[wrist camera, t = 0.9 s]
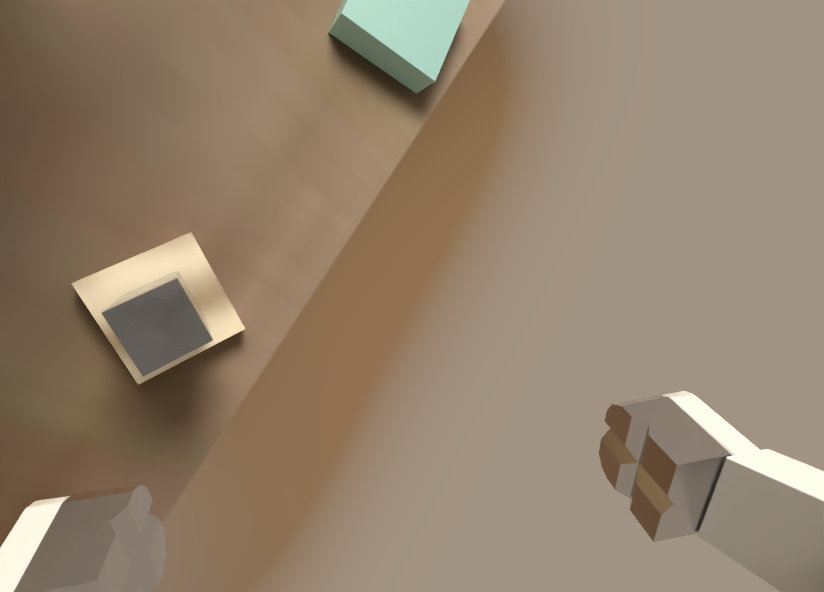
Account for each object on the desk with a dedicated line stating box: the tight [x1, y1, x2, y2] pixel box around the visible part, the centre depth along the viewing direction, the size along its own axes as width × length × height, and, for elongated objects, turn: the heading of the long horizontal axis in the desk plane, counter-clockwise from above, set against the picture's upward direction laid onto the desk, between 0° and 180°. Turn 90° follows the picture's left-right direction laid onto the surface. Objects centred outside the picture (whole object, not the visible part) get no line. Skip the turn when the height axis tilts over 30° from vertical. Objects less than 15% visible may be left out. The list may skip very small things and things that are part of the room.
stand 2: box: [328, 0, 469, 94], centre depth 44 cm, size 10×10×4 cm
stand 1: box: [71, 233, 245, 385], centre depth 38 cm, size 9×9×2 cm
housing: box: [102, 271, 213, 376], centre depth 33 cm, size 4×4×10 cm
